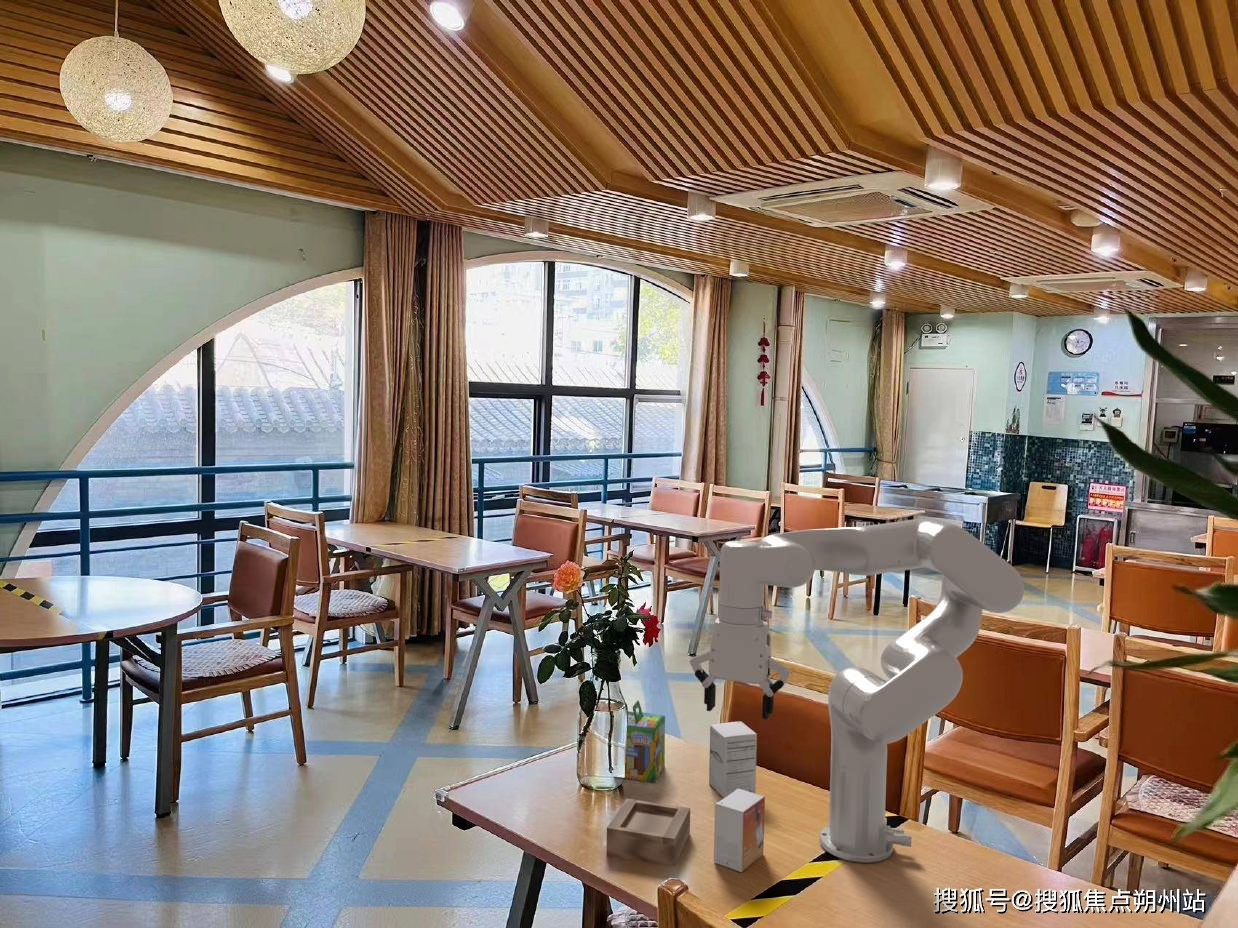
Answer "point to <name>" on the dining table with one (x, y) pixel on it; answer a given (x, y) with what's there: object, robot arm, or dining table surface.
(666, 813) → the walnut base brick
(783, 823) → the dining table surface
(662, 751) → the chalk box
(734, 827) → the small box
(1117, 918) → the dining table surface
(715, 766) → the supplement box
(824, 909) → the dining table surface
